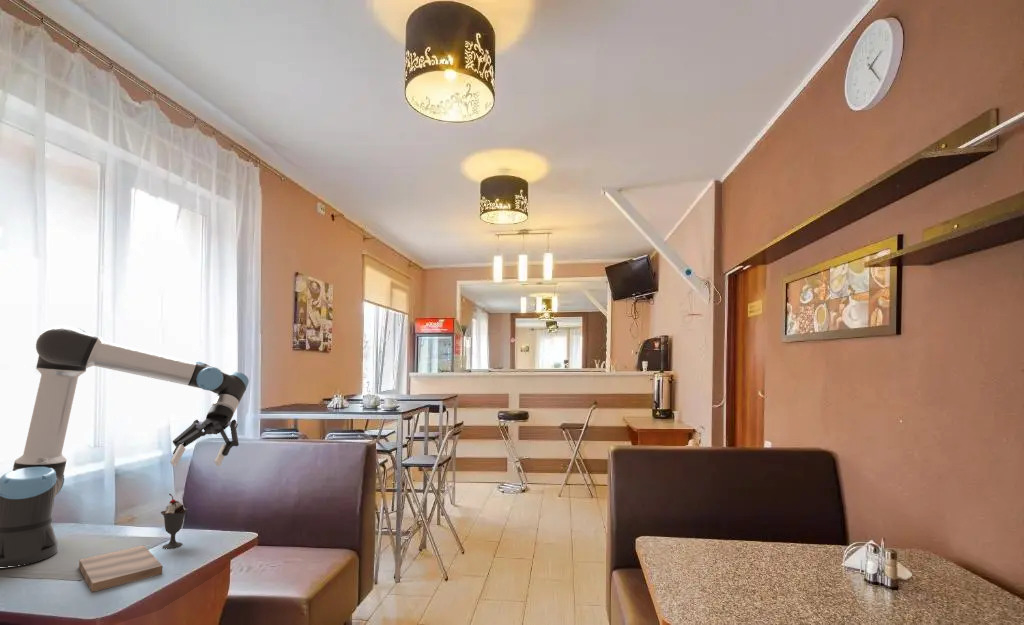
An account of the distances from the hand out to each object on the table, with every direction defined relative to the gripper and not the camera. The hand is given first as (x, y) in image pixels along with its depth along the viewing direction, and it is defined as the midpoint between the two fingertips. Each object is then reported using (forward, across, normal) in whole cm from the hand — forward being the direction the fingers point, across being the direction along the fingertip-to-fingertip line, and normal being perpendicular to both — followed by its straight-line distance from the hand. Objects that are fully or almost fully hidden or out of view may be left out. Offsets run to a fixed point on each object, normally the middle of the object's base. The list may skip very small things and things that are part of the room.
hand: (195, 464), depth 158 cm
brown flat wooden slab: (+34, +3, +3) cm, 34 cm away
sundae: (+22, 0, -9) cm, 24 cm away
